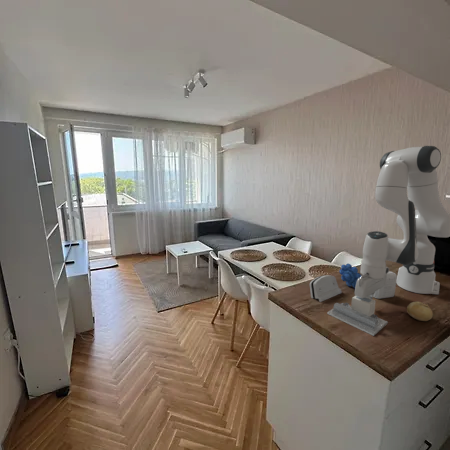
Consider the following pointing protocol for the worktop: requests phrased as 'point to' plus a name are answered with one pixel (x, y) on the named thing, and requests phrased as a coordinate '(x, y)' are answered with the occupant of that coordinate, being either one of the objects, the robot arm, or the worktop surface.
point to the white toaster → (324, 287)
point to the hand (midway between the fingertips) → (368, 300)
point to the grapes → (349, 274)
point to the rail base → (380, 323)
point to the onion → (420, 311)
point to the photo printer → (387, 287)
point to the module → (363, 305)
